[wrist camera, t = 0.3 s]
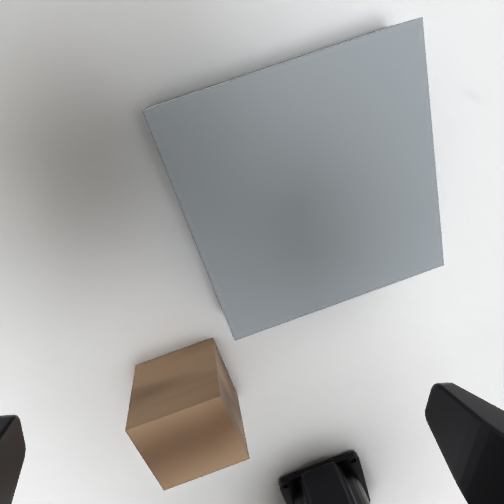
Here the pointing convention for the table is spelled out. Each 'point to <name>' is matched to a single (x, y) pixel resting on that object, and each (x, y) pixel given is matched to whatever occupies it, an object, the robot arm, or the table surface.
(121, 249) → the table surface
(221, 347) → the table surface
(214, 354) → the walnut cube
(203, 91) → the grey base
